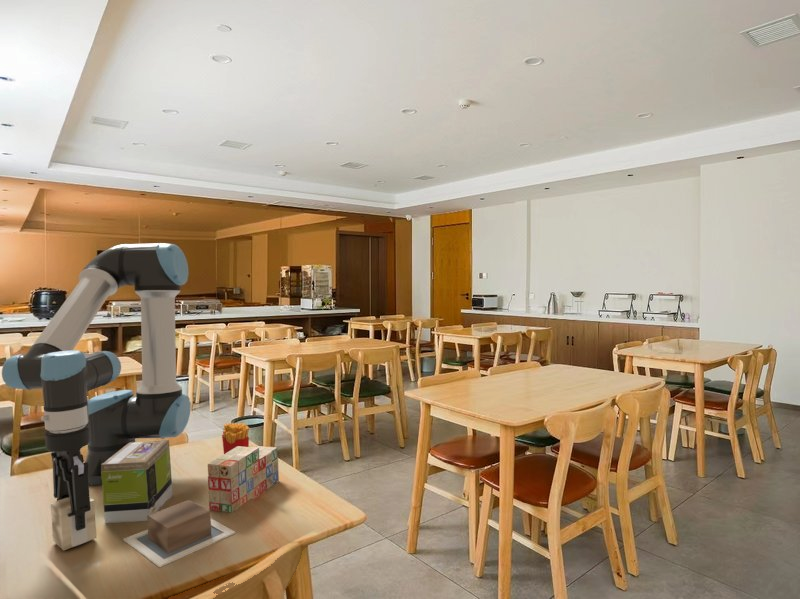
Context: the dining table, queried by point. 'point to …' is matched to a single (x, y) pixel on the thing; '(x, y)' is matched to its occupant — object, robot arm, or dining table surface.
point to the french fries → (235, 436)
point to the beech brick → (63, 522)
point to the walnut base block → (179, 525)
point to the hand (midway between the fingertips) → (73, 538)
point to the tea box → (136, 481)
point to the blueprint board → (164, 558)
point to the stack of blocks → (241, 476)
